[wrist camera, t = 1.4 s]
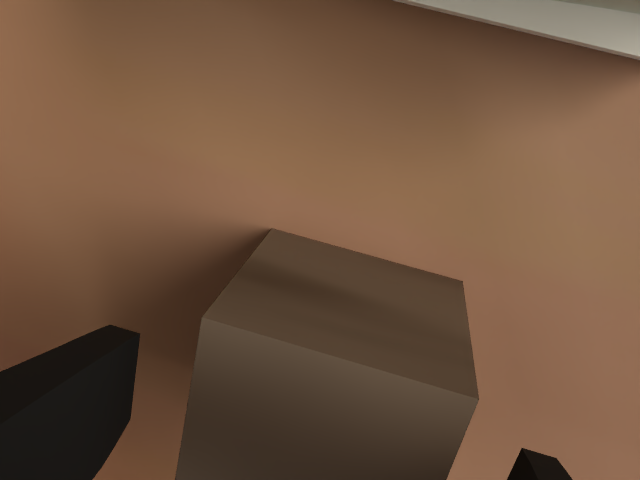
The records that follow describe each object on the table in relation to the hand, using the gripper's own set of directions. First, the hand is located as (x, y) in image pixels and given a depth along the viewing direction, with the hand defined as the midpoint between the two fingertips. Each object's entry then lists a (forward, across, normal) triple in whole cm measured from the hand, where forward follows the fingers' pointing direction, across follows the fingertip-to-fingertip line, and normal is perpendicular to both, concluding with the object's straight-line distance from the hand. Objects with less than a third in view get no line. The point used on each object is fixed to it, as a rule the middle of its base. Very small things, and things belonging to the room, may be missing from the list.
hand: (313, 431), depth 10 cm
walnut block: (+4, 0, 0) cm, 4 cm away
